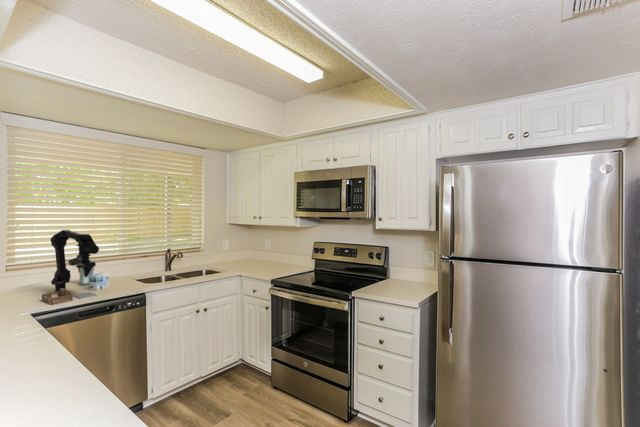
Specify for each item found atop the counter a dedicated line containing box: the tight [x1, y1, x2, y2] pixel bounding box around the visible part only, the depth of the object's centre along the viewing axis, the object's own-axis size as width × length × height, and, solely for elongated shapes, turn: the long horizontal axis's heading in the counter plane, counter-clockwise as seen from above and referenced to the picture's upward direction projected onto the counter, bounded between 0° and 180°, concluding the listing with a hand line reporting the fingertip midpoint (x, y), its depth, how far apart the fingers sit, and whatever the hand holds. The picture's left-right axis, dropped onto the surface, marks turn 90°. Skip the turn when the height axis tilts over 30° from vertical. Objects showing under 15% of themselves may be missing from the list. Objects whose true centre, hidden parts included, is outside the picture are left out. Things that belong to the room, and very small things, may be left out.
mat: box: [73, 291, 98, 299], centre depth 217 cm, size 12×10×1 cm
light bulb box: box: [89, 272, 110, 291], centre depth 237 cm, size 11×7×11 cm, turn 168°
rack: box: [41, 288, 74, 306], centre depth 204 cm, size 16×10×6 cm, turn 58°
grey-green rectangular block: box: [79, 267, 89, 284], centre depth 217 cm, size 6×3×10 cm, turn 58°
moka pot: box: [77, 260, 96, 286], centre depth 250 cm, size 10×15×20 cm, turn 89°
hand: (84, 276), depth 217 cm, fingers closed on grey-green rectangular block, 5 cm apart
